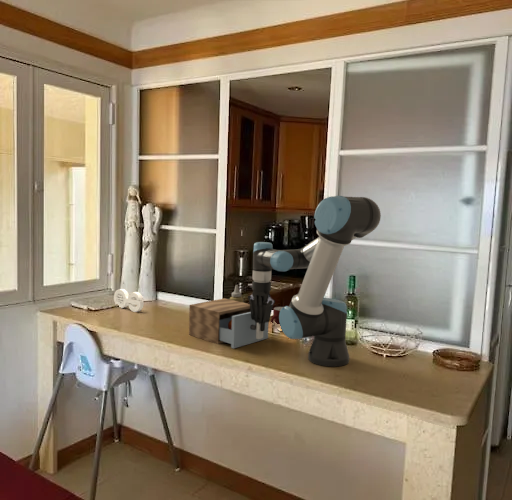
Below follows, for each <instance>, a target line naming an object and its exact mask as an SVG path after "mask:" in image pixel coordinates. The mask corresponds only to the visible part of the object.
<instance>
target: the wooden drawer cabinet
mask: <svg viewBox="0 0 512 500" xmlns="http://www.w3.org/2000/svg"><path fill="white" fill-rule="evenodd" d="M188 312H189V315H188V316H189V318H188V322H189V323H188V325H189V327H188V329H189V330H188V335H189V336H192V337H195V338H197V339H202V340H204V341H207V342H211V343H213V344H217V345H219V344H223V343H224V342H223V341H220V340H219V321H220V319H224V318H229V317H232V316H235V315H239V314H243V313H248V312H251V311H250V303H246V302H244V301H243V302H238V301H234V300H230V298H225V297H223V298H219V299H213V300H209V301H204V302H196V303H191V304H189V311H188Z"/></svg>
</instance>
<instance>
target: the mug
mask: <svg viewBox="0 0 512 500" xmlns="http://www.w3.org/2000/svg"><path fill="white" fill-rule="evenodd" d="M283 307H284V306H275V307H274V308H272V313H273V315H272V317H270V323H271V322H272V323H274V321H275V322H276V323H277V324H280V322H279V314H280V310H281V309H282V308H283Z"/></svg>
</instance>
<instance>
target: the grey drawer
mask: <svg viewBox="0 0 512 500" xmlns="http://www.w3.org/2000/svg"><path fill="white" fill-rule="evenodd" d="M231 319H232V330H230V329H228V324H229V322H230V320H231ZM269 322H270V321H269ZM269 322H266V323H265V330H264V331H263V338H262V339H256V329H255V324H256V322H255V321H254V320H252V318H251V312H248V313H243V314H239V315H235V316H232V317H229V318H224V319H220V321H219V340H220V341H223V343H227V344H230V349H236V348H240V347H244V346H246V345H250V344H253V343H256V342H260V341H263V340H267V339H269Z"/></svg>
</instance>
